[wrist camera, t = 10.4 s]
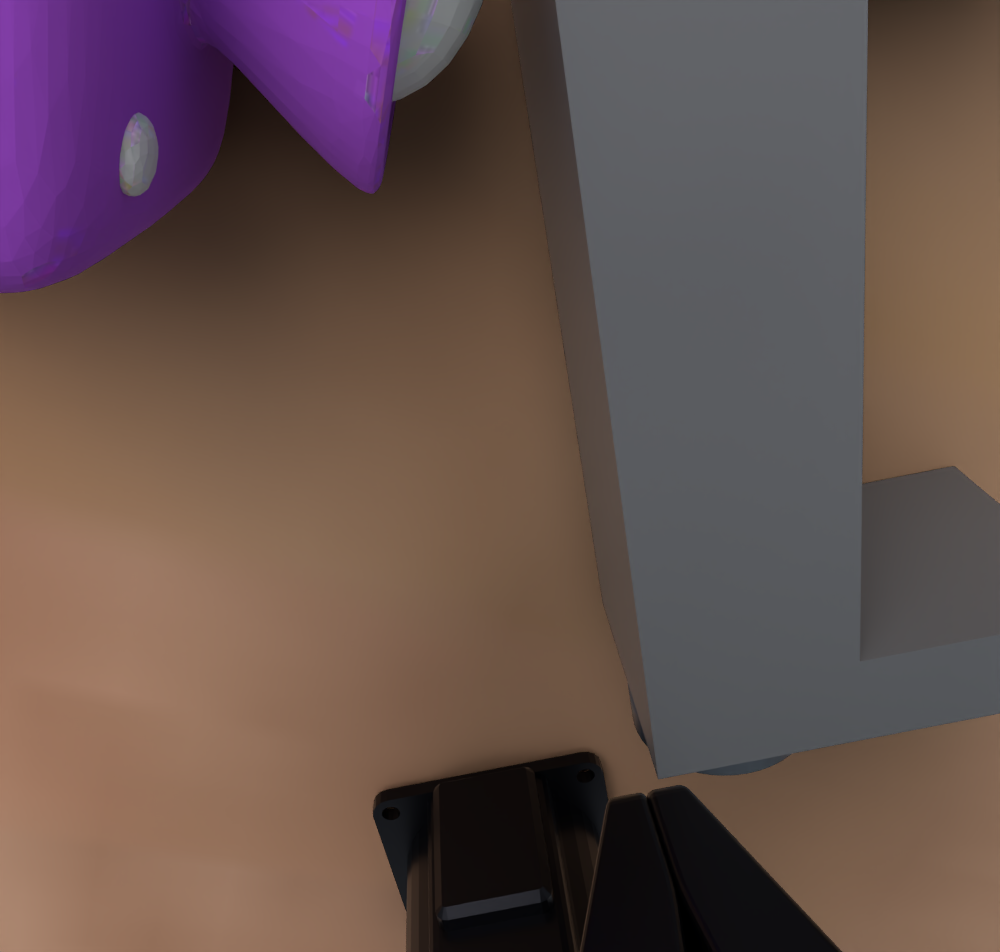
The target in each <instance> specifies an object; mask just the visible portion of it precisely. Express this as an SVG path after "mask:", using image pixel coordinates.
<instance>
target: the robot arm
mask: <svg viewBox="0 0 1000 952" xmlns="http://www.w3.org/2000/svg"><path fill="white" fill-rule="evenodd" d="M584 769H589V770H588V771H586V772H579V771H581V770H584ZM388 807H395V808H394V809H388ZM373 817H374V820H375V823H376V826H377V829H378V832H379V834H380V837H381V840H382V843H383V846H384V849H385V852H386V855H387V858H388V860H389V863H390V866H391V869H392V872H393V875H394V878H395V881H396V883H397V886H398V889H399V892H400V895H401V898H402V901H403V904H404V906H405V909H406V912H407V918H406V952H842V951H841V950H840V949H839V948H838V947H837V946H836V945H835V943H834V942H833V941H832V940H831V939H830V938H829V937H828V936H827V935H826V934H825V933H824V932H823V931H822V930H821V929H820V928H819V927H818V925H817V924H816V923H815V922H814V921H813V920H812V919H811V918H810V917H809V916H808V915H807V914H806V913H805V912H804V911H803V910H802V908H801V907H800V906H799V905H798V904H797V903H796V902H795V901H794V900H793V899H792V898H791V897H790V896H789V895H788V894H787V893H786V892H785V890H784V889H783V888H782V887H781V886H780V885H779V884H778V883H777V882H776V881H775V880H774V879H773V878H772V877H771V876H770V875H769V873H768V872H767V871H766V870H765V869H764V868H763V867H762V866H761V865H760V864H759V863H758V862H757V861H756V860H755V859H754V858H753V857H752V855H751V854H750V853H749V852H748V851H747V850H746V849H745V848H744V847H743V846H742V845H741V844H740V843H739V842H738V841H737V840H736V838H735V837H734V836H733V835H732V834H731V833H730V832H729V831H728V830H727V829H726V828H725V827H724V826H723V825H722V824H721V823H720V821H719V820H718V819H717V818H716V817H715V816H714V815H713V814H712V813H711V812H710V811H709V810H708V809H707V808H706V807H705V806H704V805H703V803H702V802H701V801H700V800H699V799H698V798H697V797H696V796H695V795H694V794H693V793H692V792H691V791H690V790H689V789H688V788H687V787H685V786H682V785H676V786H671V787H666V788H661V789H656V790H652V791H650V792H649V793H648V796H647V797H646V796H645V795H644V794H642V793H635V794H630V795H625V796H619V797H614V798H611V799H610V800H609V801H608V797H607V791H606V785H605V780H604V774H603V769H602V765H601V761H600V759H599V757H598V756H596V755H595V754H593V753H589V752H580V753H575V754H570V755H565V756H559V757H554V758H549V759H544V760H539V761H534V762H528V763H523V764H518V765H513V766H508V767H503V768H497V769H492V770H487V771H482V772H477V773H471V774H466V775H461V776H456V777H451V778H446V779H440V780H435V781H430V782H425V783H420V784H415V785H409V786H404V787H399V788H394V789H389V790H385V791H382V792H380V793H379V794H378V795H377V796H376V797H375V799H374V805H373Z"/></svg>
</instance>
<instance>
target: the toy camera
mask: <svg viewBox="0 0 1000 952" xmlns="http://www.w3.org/2000/svg"><path fill="white" fill-rule="evenodd" d="M482 2H483V0H0V293H14V292H24V291H30V290H35V289H40V288H43V287H46V286H49V285H52V284H54V283H57V282H60V281H63V280H66V279H68V278H70V277H73V276H75V275H77V274H79V273H81V272H82V271H84V270H86V269H87V268H89V267H91V266H92V265H94V264H96V263H97V262H99V261H101V260H102V259H104V258H105V257H107V256H108V255H110V254H111V253H113V252H114V251H115V250H117V249H118V248H120V247H121V246H123V245H124V244H126V243H127V242H128V241H130V240H131V239H133V238H134V237H136V236H137V235H138V234H140V233H141V232H143V231H144V230H146V229H147V228H149V227H150V226H151V225H153V224H154V223H155V222H156V221H158V220H159V219H160V218H161V217H163V216H164V215H165V214H166V213H168V212H169V211H170V210H171V209H172V208H174V207H175V206H176V205H177V204H178V203H179V202H181V201H182V200H183V199H184V198H185V197H186V196H187V195H189V194H190V193H191V192H192V191H193V190H194V189H195V188H196V187H197V186H198V185H199V184H200V183H201V181H202V180H203V179H204V177H205V176H206V175H207V174H208V172H209V170H210V169H211V167H212V165H213V164H214V162H215V159H216V157H217V155H218V153H219V149H220V146H221V143H222V139H223V136H224V131H225V125H226V120H227V114H228V108H229V102H230V92H231V83H232V73H233V64H234V65H235V66H236V67H237V68H238V69H239V70H240V71H241V72H242V73H243V74H244V75H245V76H246V77H247V78H248V79H249V80H250V81H251V83H252V84H253V85H254V86H255V87H256V88H257V89H258V90H259V91H260V92H261V93H262V94H263V96H264V97H265V98H266V99H267V100H268V101H269V102H270V103H271V104H272V105H273V106H274V107H275V108H276V110H277V111H278V112H279V113H280V114H281V115H282V116H283V117H284V118H285V119H286V120H287V121H288V123H289V124H290V125H291V126H292V127H293V128H294V129H295V130H296V131H297V132H298V133H299V134H300V135H301V136H302V137H303V138H304V139H305V140H306V141H307V142H308V143H309V144H310V145H311V146H312V147H313V148H314V149H315V150H316V151H317V152H318V153H319V154H320V155H321V156H322V157H323V158H324V159H325V160H326V161H327V162H328V163H329V164H330V165H331V166H332V167H333V168H334V169H335V170H336V171H338V172H339V173H340V174H341V175H342V176H344V177H345V178H346V179H347V180H348V181H350V182H351V183H352V184H353V185H354V186H356V187H357V188H358V189H360V190H362V191H364V192H367V193H373V194H374V193H375V192H376V191H377V190H378V189H379V187H380V185H381V183H382V179H383V174H384V169H385V164H386V159H387V153H388V147H389V141H390V135H391V129H392V122H393V116H394V110H395V104H396V101H397V100H400V99H402V98H404V97H406V96H408V95H409V94H411V93H413V92H415V91H417V90H419V89H420V88H422V87H424V86H426V85H427V84H428V83H429V82H430V81H432V80H433V79H434V78H435V77H436V76H437V75H438V74H439V73H440V72H441V71H442V70H443V69H444V68H445V67H446V66H448V65H449V64H450V62H451V61H452V59H453V58H454V56H455V55H456V53H457V52H458V50H459V49H460V47H461V46H462V44H463V43H464V42H465V40H466V39H467V37H468V35H469V33H470V31H471V28H472V26H473V24H474V21H475V19H476V17H477V15H478V12H479V10H480V8H481V6H482Z"/></svg>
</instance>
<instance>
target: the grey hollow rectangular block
mask: <svg viewBox="0 0 1000 952" xmlns="http://www.w3.org/2000/svg"><path fill="white" fill-rule="evenodd" d="M511 6H512V12H513V19H514V25H515V32H516V38H517V45H518V51H519V58H520V65H521V71H522V78H523V84H524V91H525V97H526V104H527V110H528V117H529V123H530V130H531V137H532V143H533V150H534V156H535V163H536V169H537V176H538V182H539V189H540V195H541V202H542V209H543V215H544V222H545V228H546V235H547V241H548V248H549V254H550V261H551V267H552V274H553V281H554V287H555V294H556V300H557V307H558V313H559V320H560V326H561V333H562V339H563V346H564V353H565V359H566V366H567V372H568V379H569V385H570V392H571V398H572V405H573V411H574V418H575V425H576V431H577V438H578V444H579V451H580V457H581V464H582V470H583V477H584V483H585V490H586V497H587V503H588V510H589V516H590V523H591V529H592V536H593V542H594V549H595V556H596V562H597V569H598V575H599V582H600V588H601V595H602V601H603V605H604V608H605V611H606V615H607V618H608V621H609V624H610V627H611V630H612V634H613V637H614V640H615V643H616V646H617V650H618V653H619V656H620V659H621V662H622V665H623V669H624V672H625V675H626V678H627V681H628V688H629V695H630V702H631V709H632V716H633V721H634V725H635V728H636V730H637V733H638V734H639V736H640V737H641V739H642V741H643V742H644V743H645V744H646V745H647V746H648V748H649V751H650V755H651V758H652V761H653V764H654V767H655V771H656V774H657V777H658V779H662V778H668V777H673V776H678V775H683V774H688V773H693V772H697V773H702V774H709V775H739V774H747V773H751V772H755V771H759V770H762V769H765V768H768V767H770V766H773V765H775V764H777V763H778V762H780V761H782V760H784V759H785V758H787V757H788V756H789V755H791V754H792V753H797V752H802V751H808V750H813V749H818V748H823V747H828V746H833V745H839V744H844V743H849V742H854V741H859V740H865V739H870V738H875V737H880V736H885V735H891V734H896V733H901V732H906V731H911V730H916V729H922V728H927V727H932V726H937V725H942V724H948V723H953V722H958V721H963V720H968V719H973V718H979V717H984V716H989V715H994V714H999V713H1000V504H999V503H998V502H997V501H995V500H994V499H993V498H992V497H991V496H989V495H988V494H987V493H986V492H985V491H983V490H982V489H981V488H980V487H979V486H977V485H976V484H975V483H974V482H973V481H971V480H970V479H969V478H968V477H967V476H965V475H964V474H963V473H962V472H961V471H959V470H958V469H957V468H956V467H955V466H952V467H946V468H941V469H936V470H931V471H926V472H921V473H916V474H911V475H906V476H900V477H895V478H890V479H885V480H880V481H875V482H870V483H865V484H862V449H863V368H864V286H865V205H866V123H867V42H868V0H511Z"/></svg>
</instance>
